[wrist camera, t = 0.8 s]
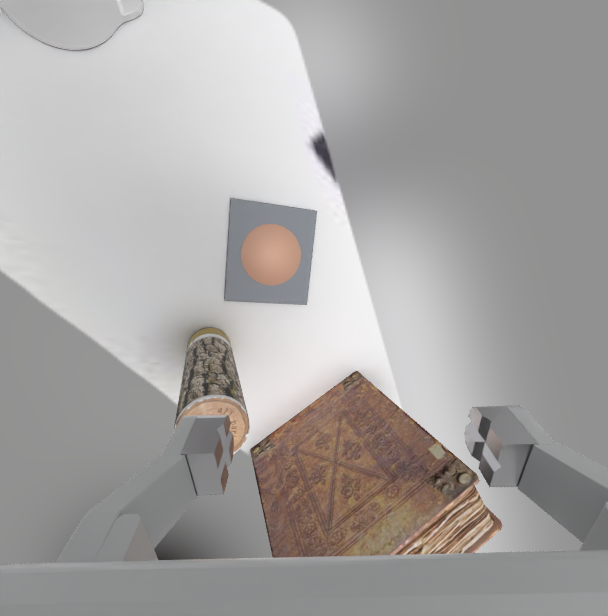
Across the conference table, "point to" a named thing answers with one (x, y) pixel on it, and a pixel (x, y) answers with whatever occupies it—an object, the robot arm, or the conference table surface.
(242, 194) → the conference table surface
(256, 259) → the card
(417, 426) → the book
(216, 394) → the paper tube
